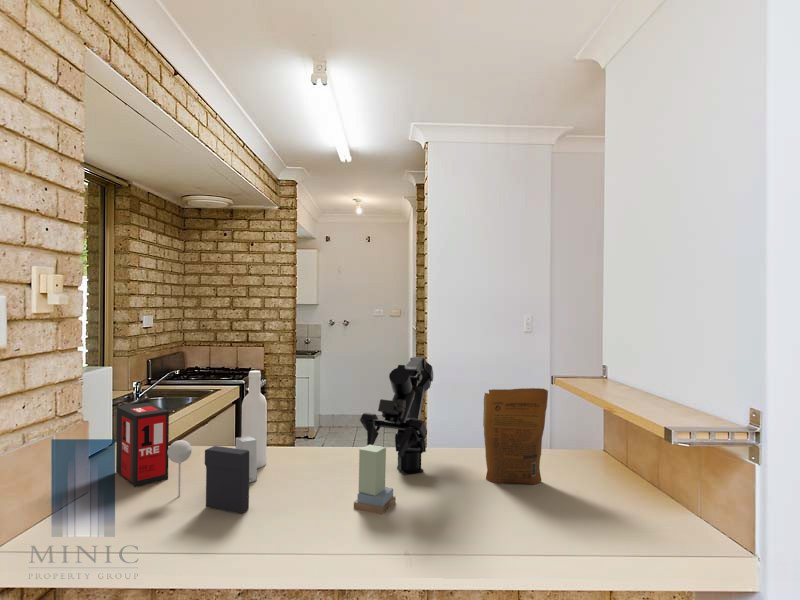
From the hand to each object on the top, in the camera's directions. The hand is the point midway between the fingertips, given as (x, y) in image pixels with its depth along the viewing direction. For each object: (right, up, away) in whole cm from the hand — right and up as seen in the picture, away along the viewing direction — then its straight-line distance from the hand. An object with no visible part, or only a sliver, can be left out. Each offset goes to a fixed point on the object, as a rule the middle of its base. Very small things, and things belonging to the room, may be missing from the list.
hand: (383, 453), depth 132 cm
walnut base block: (-2, -13, -4) cm, 14 cm away
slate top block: (-2, -11, -4) cm, 12 cm away
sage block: (-3, -8, -4) cm, 10 cm away
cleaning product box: (-73, -12, +15) cm, 75 cm away
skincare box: (-41, -12, +13) cm, 45 cm away
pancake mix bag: (+38, -13, +13) cm, 42 cm away
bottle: (-42, -12, +26) cm, 51 cm away
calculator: (-39, -12, -7) cm, 42 cm away
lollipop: (-55, -12, 0) cm, 56 cm away
